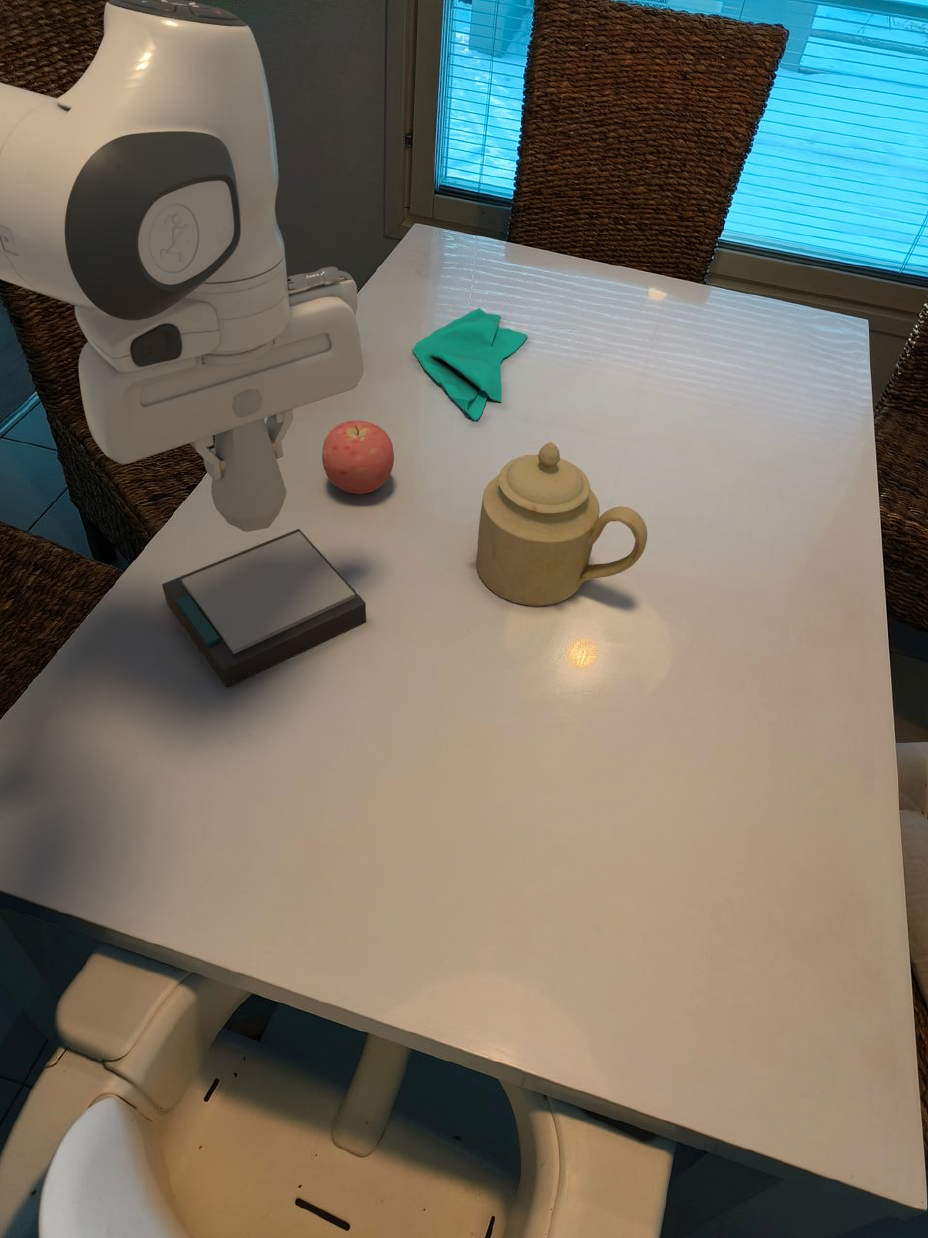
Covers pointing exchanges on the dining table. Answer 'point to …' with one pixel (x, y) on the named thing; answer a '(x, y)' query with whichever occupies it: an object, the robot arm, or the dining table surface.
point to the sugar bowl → (545, 530)
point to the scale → (263, 606)
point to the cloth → (469, 358)
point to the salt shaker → (248, 471)
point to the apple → (357, 456)
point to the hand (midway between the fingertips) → (244, 465)
